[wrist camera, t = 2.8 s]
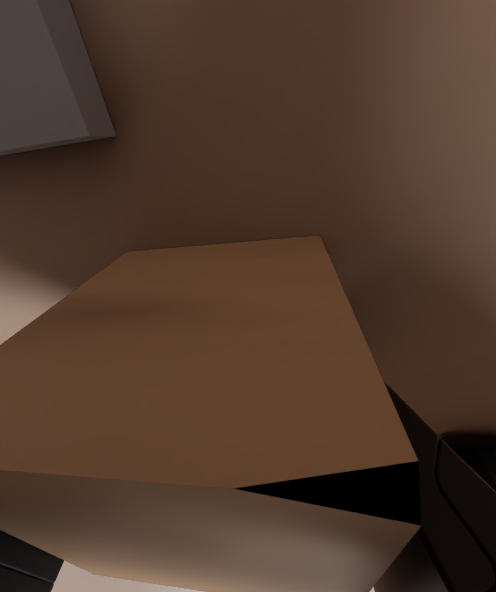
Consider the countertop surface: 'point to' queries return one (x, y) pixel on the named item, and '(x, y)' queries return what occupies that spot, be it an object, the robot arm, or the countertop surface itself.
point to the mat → (46, 79)
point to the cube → (207, 426)
